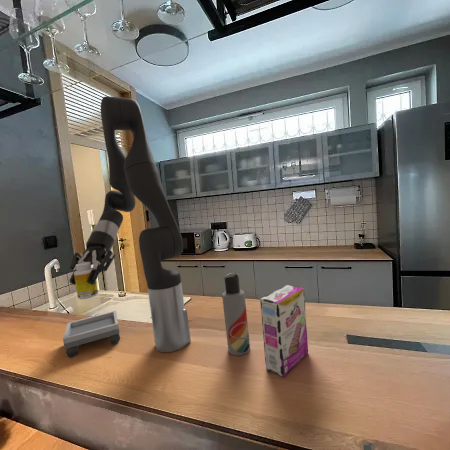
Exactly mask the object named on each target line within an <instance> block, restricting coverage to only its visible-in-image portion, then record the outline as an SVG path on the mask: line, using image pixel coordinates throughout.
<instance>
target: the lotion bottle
mask: <svg viewBox="0 0 450 450" xmlns="http://www.w3.org/2000/svg"><path fill="white" fill-rule="evenodd" d="M223 280H224V292H223V293H222V294H221V296H222V298H221V299H222V306H223V314H224V325H225V332H226V333H225V335H226V342H227V349H228V350H227V351H228V352H229V354H231V355H233V356H243V355H246V354H248V353H249V352H250V349H251V344H250V343H251V341H250V335H249V325H248V314H247V306H246V296H245V295H246V294H245V291H244V290H243V289H241V285H240V284H241V283H240V276H239V274H238V273H237V272H229V273H227V274H226V275H225V276H223Z"/></svg>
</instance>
